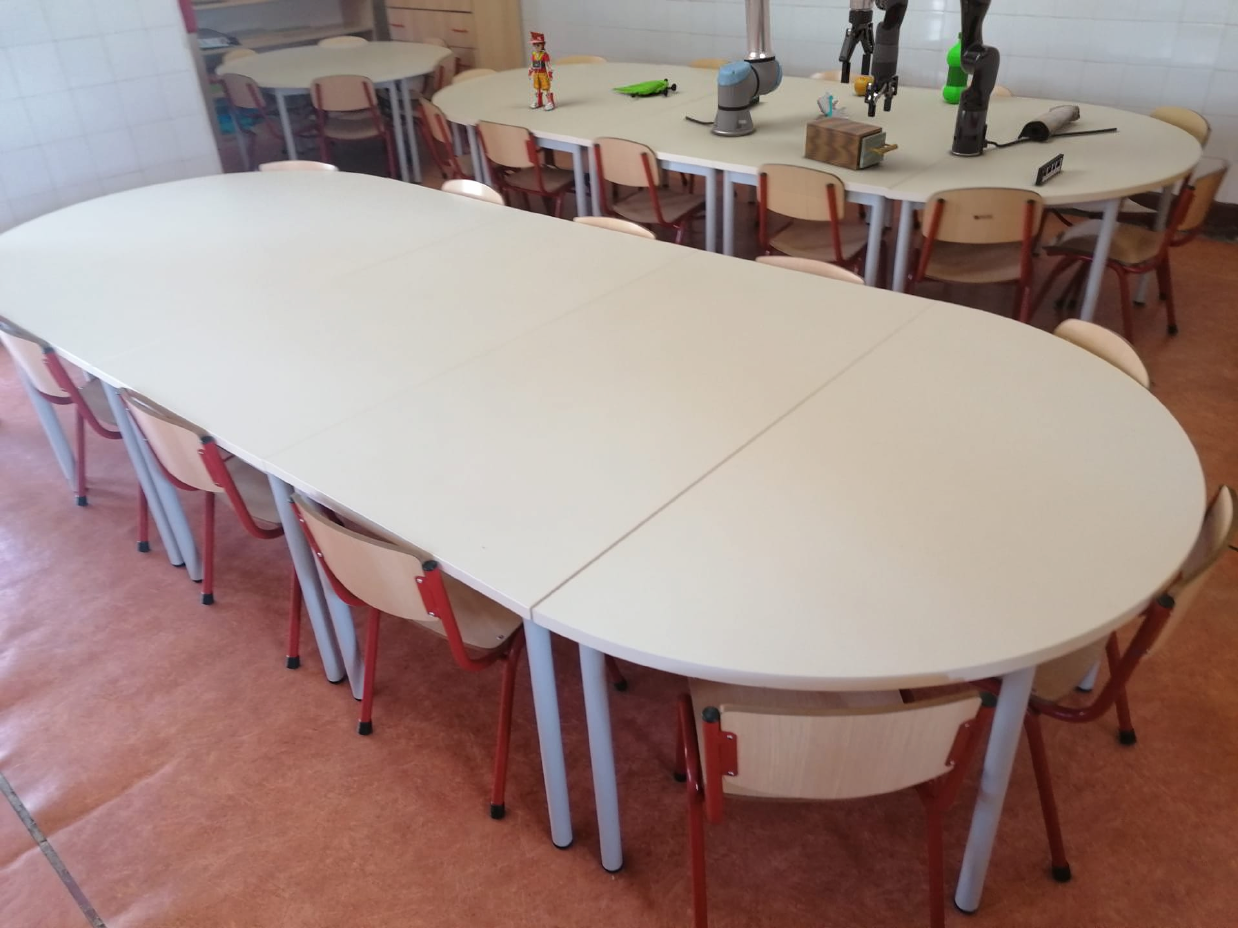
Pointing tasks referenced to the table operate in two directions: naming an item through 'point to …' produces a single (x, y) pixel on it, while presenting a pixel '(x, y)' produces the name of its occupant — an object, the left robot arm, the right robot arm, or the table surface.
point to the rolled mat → (1049, 122)
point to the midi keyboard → (1049, 169)
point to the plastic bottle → (954, 75)
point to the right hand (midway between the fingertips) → (879, 114)
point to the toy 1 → (541, 71)
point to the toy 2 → (648, 88)
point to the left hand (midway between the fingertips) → (855, 79)
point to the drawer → (873, 149)
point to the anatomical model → (830, 107)
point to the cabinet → (836, 141)
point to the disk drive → (753, 100)
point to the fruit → (862, 84)
